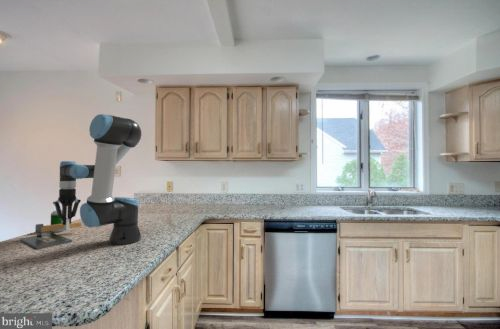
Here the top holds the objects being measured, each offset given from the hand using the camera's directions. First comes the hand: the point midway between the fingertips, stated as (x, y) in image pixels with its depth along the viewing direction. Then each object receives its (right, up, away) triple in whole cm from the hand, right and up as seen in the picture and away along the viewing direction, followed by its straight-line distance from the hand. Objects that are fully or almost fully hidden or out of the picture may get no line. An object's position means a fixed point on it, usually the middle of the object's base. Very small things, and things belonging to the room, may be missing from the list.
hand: (66, 230), depth 137 cm
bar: (-4, 0, 0) cm, 4 cm away
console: (-3, -3, -10) cm, 11 cm away
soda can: (-12, -3, +9) cm, 16 cm away
